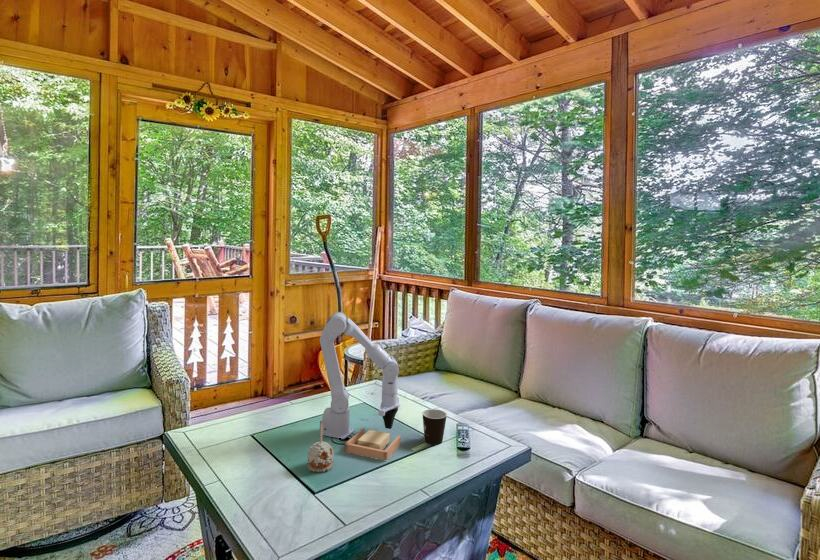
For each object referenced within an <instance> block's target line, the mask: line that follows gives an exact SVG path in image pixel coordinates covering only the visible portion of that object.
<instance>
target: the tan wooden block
mask: <svg viewBox="0 0 820 560" xmlns="http://www.w3.org/2000/svg"><path fill="white" fill-rule="evenodd" d="M390 442H391V433H390V432H389V433H388V432H384V431H383V432H382V431H378V430H373V429H368V430H367V431H366V432H364V435H363V436H362V437H360V438H359V439H358V443H357V445H361V446H365V447H370V448H375V449H380V450H385V449H386V448H387V447H386V445H387V446H389V445H390Z"/></svg>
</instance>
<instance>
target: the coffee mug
mask: <svg viewBox="0 0 820 560" xmlns="http://www.w3.org/2000/svg"><path fill="white" fill-rule="evenodd" d="M447 416H448V415H447V412H446V411H443V410H441V409H436V408H433V409H432V408H431V409H430V408H429V409H425V410H424V411H422V422H423V423H422V425H423V436H424V438H423V439H424V442H425V443H426V444H428V445H432V446H437V445H440V444H442V443H443V440H444V433H445V428H446V422H447Z"/></svg>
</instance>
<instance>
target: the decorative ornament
mask: <svg viewBox="0 0 820 560" xmlns="http://www.w3.org/2000/svg"><path fill="white" fill-rule="evenodd" d="M322 426H323V421H322V419H320V421H319V441H316V442H315V443H312V445H311V446H310V448H308V451H307V461H308V463H307V468H308V470H309V471H312V472H317V473H319V472H320V473H321V472H325V471H329V470H331V469H333V466H334V455H335V454H334V449H333V446H332V445H331V444H330V443H328V442H326V441H323V435H322Z"/></svg>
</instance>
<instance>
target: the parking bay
mask: <svg viewBox="0 0 820 560" xmlns="http://www.w3.org/2000/svg"><path fill="white" fill-rule="evenodd" d="M364 434H365V429H364V428H360V430H359V431H358V432H356V433H355V434H354V435H353V436H352V437H351V438H350V439H348V441H346V442H345V443H344V453H345V452H348V453H347V454H350V453H353V454H352V455H354V454H357V455H356V456H359V455H362V456H361V457H364V456H367V457H366V458H368V457H373V458H377V459H376V460H378V459H382V460H387V459H388V458H389V459H390V457H391V456H393V454H394V453H395V452H396V451H397V449H398V448H399V447H400V446H401V445H400V444H401V443H402V442H401V441H402V436H401V435H397V436H396V438H395V439H393V441H392V442H391V443H389V444H388V445H387V447H386V448H385V449H383V450H380V449H375V448H370V447H365V446H361V445H358V439H359V438H360V437H362V436H363V435H364ZM399 445H400V446H399ZM398 446H399V447H398ZM394 451H395V452H394ZM393 452H394V453H393ZM392 453H393V454H392ZM373 458H372V459H373ZM389 459H388V460H389ZM382 460H381V461H382ZM388 460H387V461H388Z"/></svg>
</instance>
